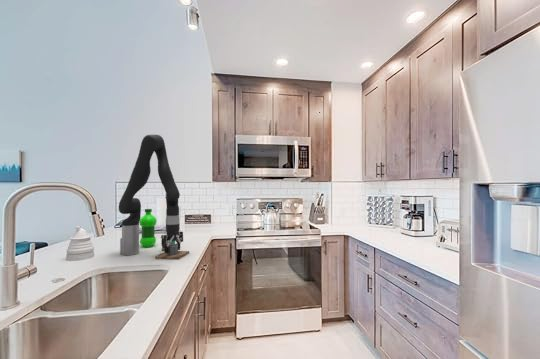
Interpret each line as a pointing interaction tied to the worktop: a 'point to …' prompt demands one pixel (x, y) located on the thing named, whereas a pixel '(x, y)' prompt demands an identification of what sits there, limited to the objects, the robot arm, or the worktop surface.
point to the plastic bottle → (148, 229)
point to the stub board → (177, 256)
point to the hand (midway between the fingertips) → (172, 251)
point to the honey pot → (80, 246)
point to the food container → (170, 243)
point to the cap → (173, 249)
